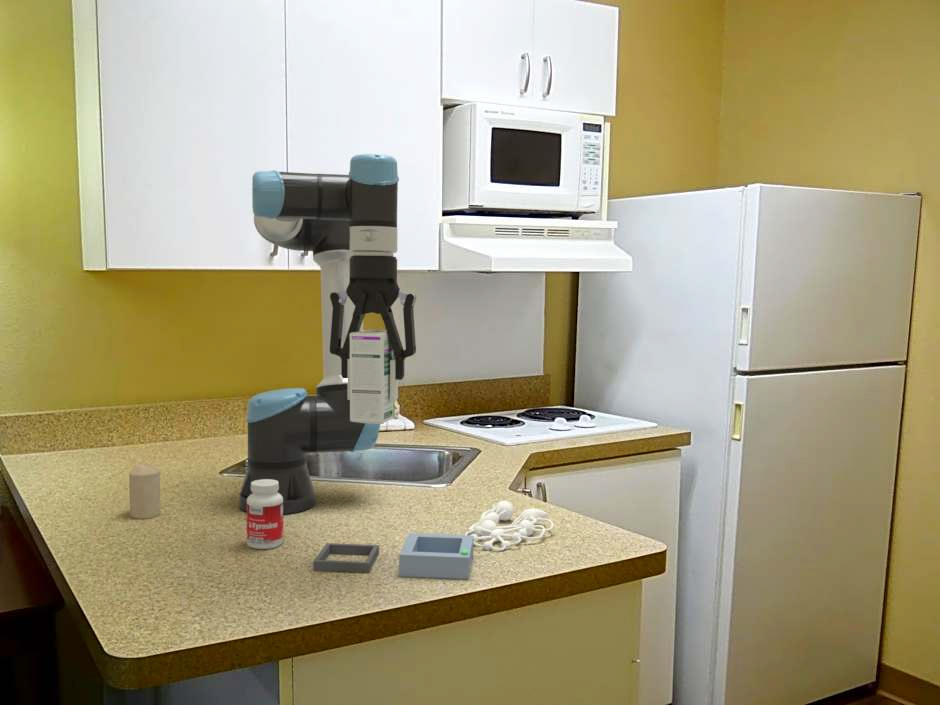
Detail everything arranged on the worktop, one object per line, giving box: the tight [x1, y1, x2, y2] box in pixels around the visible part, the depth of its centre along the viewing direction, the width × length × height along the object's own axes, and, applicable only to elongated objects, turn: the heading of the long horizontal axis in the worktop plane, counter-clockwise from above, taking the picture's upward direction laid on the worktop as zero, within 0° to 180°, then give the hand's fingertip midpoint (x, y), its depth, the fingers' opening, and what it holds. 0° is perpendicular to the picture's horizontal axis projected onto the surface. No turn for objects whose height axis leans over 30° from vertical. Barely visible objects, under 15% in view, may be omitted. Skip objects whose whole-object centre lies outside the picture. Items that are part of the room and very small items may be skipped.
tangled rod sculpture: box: [464, 500, 555, 552], centre depth 154 cm, size 19×14×4 cm
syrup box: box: [350, 329, 396, 425], centre depth 135 cm, size 6×6×14 cm
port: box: [398, 532, 474, 580], centre depth 137 cm, size 11×11×4 cm
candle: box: [128, 462, 161, 520], centre depth 162 cm, size 6×6×10 cm
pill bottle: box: [246, 479, 284, 550], centre depth 146 cm, size 6×6×11 cm
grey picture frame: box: [312, 542, 380, 574], centre depth 139 cm, size 9×9×2 cm
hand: (372, 399), depth 135 cm, fingers closed on syrup box, 6 cm apart
